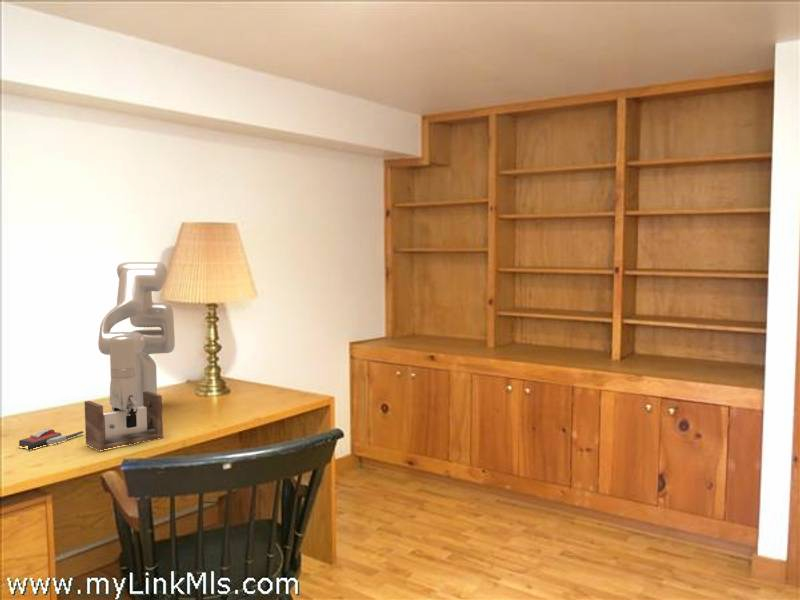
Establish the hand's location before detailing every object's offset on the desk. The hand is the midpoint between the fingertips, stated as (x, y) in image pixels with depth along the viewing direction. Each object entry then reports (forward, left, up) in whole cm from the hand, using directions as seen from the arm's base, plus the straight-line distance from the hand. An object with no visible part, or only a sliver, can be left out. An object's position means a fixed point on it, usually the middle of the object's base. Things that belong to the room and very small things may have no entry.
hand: (124, 424), depth 219 cm
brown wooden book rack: (0, 0, -6) cm, 6 cm away
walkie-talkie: (-18, -17, -6) cm, 25 cm away
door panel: (0, 0, -4) cm, 4 cm away
